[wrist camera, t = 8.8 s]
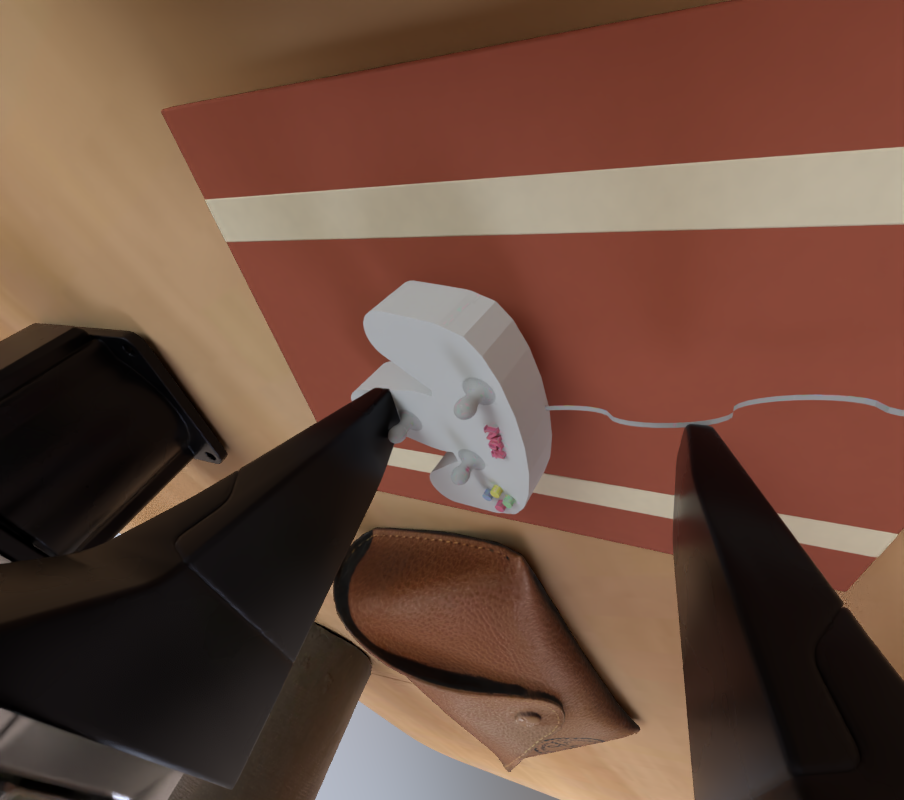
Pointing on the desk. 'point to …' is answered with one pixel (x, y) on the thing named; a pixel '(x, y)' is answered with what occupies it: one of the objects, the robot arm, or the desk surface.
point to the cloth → (612, 247)
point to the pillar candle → (297, 726)
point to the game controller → (478, 393)
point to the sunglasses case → (476, 640)
